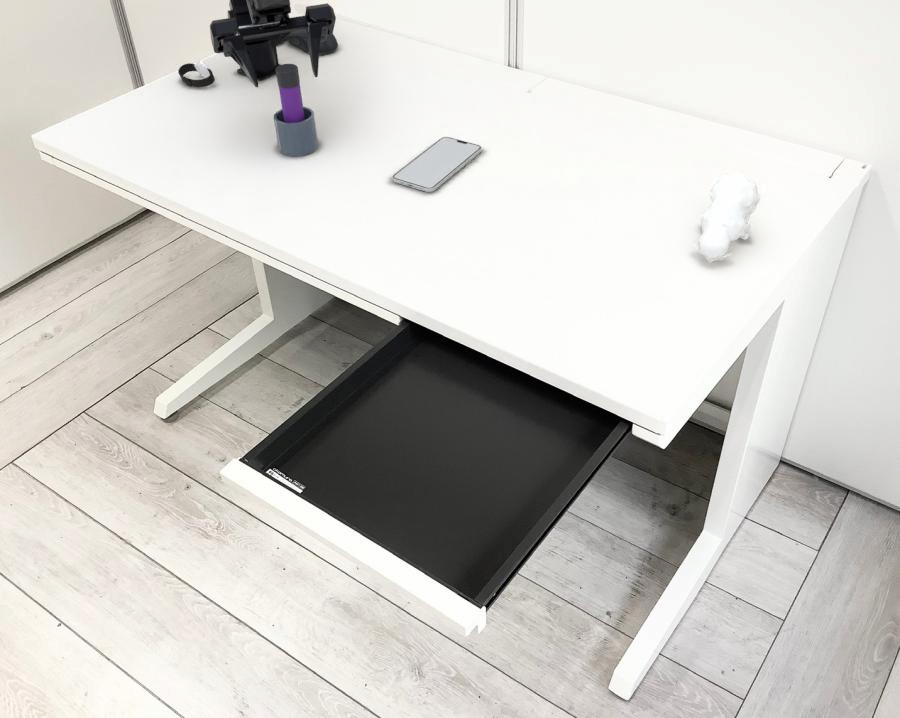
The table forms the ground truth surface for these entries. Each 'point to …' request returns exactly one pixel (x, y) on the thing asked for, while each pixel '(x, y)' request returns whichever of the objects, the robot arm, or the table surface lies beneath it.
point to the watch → (199, 68)
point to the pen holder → (296, 134)
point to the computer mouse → (300, 41)
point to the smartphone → (437, 164)
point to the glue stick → (290, 93)
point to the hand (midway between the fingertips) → (287, 81)
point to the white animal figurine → (727, 215)
